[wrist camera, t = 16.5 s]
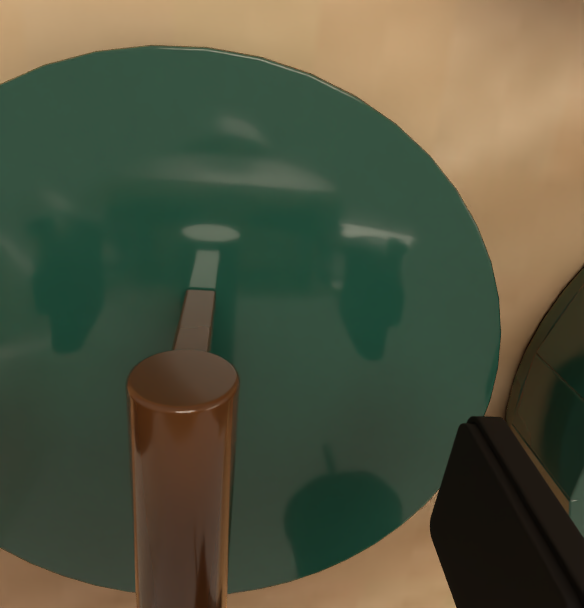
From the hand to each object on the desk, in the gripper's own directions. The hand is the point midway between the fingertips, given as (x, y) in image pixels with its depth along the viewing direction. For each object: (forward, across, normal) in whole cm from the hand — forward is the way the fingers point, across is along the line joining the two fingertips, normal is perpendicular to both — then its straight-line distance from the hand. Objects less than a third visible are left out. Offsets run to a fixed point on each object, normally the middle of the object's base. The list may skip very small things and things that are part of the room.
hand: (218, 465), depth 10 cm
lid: (+4, +1, +1) cm, 4 cm away
